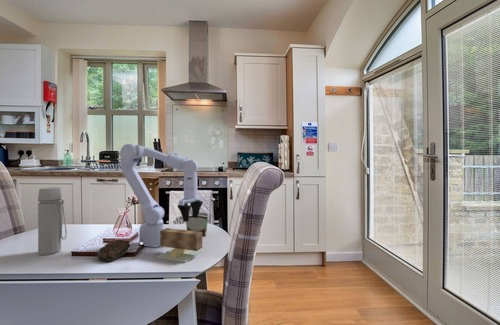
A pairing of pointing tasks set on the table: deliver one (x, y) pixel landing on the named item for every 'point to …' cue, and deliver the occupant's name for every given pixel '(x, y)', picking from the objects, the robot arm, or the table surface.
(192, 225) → the food container
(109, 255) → the dark brown rock
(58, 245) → the water bottle
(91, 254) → the table surface
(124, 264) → the table surface
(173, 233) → the walnut bar
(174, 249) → the ridge stand
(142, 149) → the robot arm
